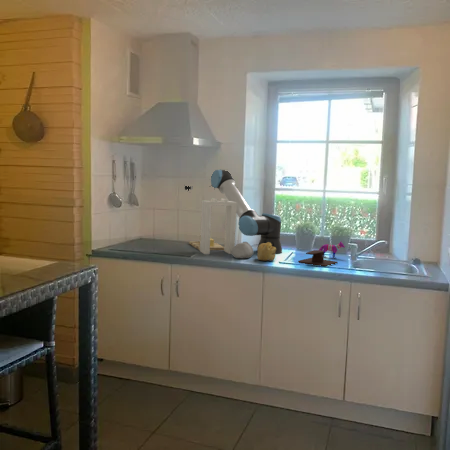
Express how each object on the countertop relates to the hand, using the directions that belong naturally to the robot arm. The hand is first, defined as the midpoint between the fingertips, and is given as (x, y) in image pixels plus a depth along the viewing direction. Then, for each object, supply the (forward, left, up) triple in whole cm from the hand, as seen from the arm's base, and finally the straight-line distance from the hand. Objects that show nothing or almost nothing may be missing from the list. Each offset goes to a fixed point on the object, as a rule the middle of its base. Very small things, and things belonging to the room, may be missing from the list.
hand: (202, 188), depth 308 cm
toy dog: (-81, -22, -36) cm, 91 cm away
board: (-12, +8, -36) cm, 39 cm away
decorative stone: (-48, +19, -36) cm, 63 cm away
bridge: (-30, +20, -36) cm, 51 cm away
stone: (-62, +17, -36) cm, 73 cm away
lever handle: (-85, +2, -36) cm, 92 cm away
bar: (-10, +6, -34) cm, 36 cm away
